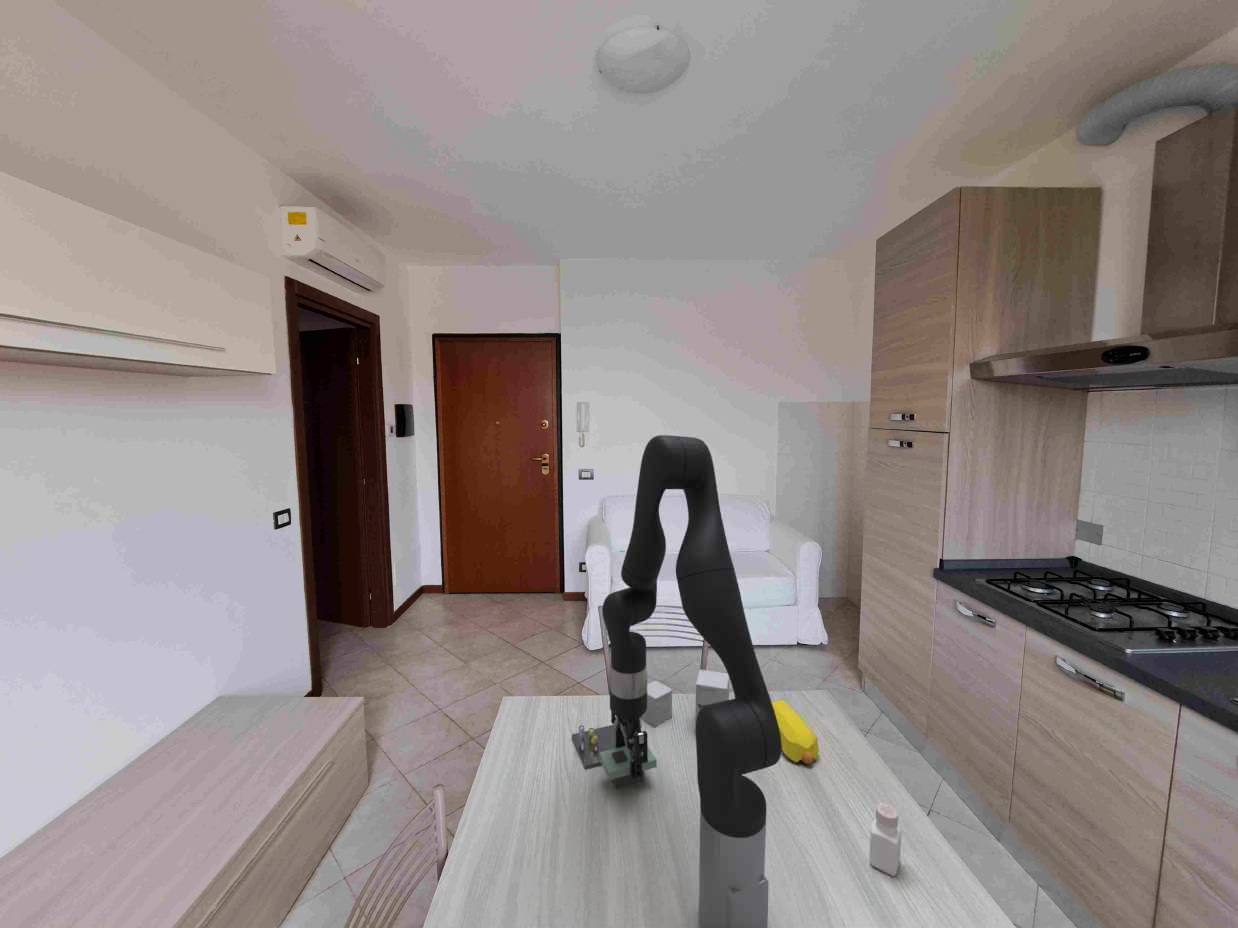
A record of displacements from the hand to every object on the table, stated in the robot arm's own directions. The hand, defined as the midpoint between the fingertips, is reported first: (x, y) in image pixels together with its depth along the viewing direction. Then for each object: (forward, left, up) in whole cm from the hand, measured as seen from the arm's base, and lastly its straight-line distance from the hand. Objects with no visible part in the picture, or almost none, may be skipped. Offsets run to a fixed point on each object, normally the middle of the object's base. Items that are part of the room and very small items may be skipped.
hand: (628, 761), depth 100 cm
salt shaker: (-32, -33, -4) cm, 46 cm away
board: (0, 0, 0) cm, 0 cm away
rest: (0, 0, -4) cm, 4 cm away
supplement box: (+9, -25, -4) cm, 27 cm away
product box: (+18, -14, -4) cm, 23 cm away
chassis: (+12, 0, -4) cm, 12 cm away
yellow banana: (-1, -39, -5) cm, 39 cm away
